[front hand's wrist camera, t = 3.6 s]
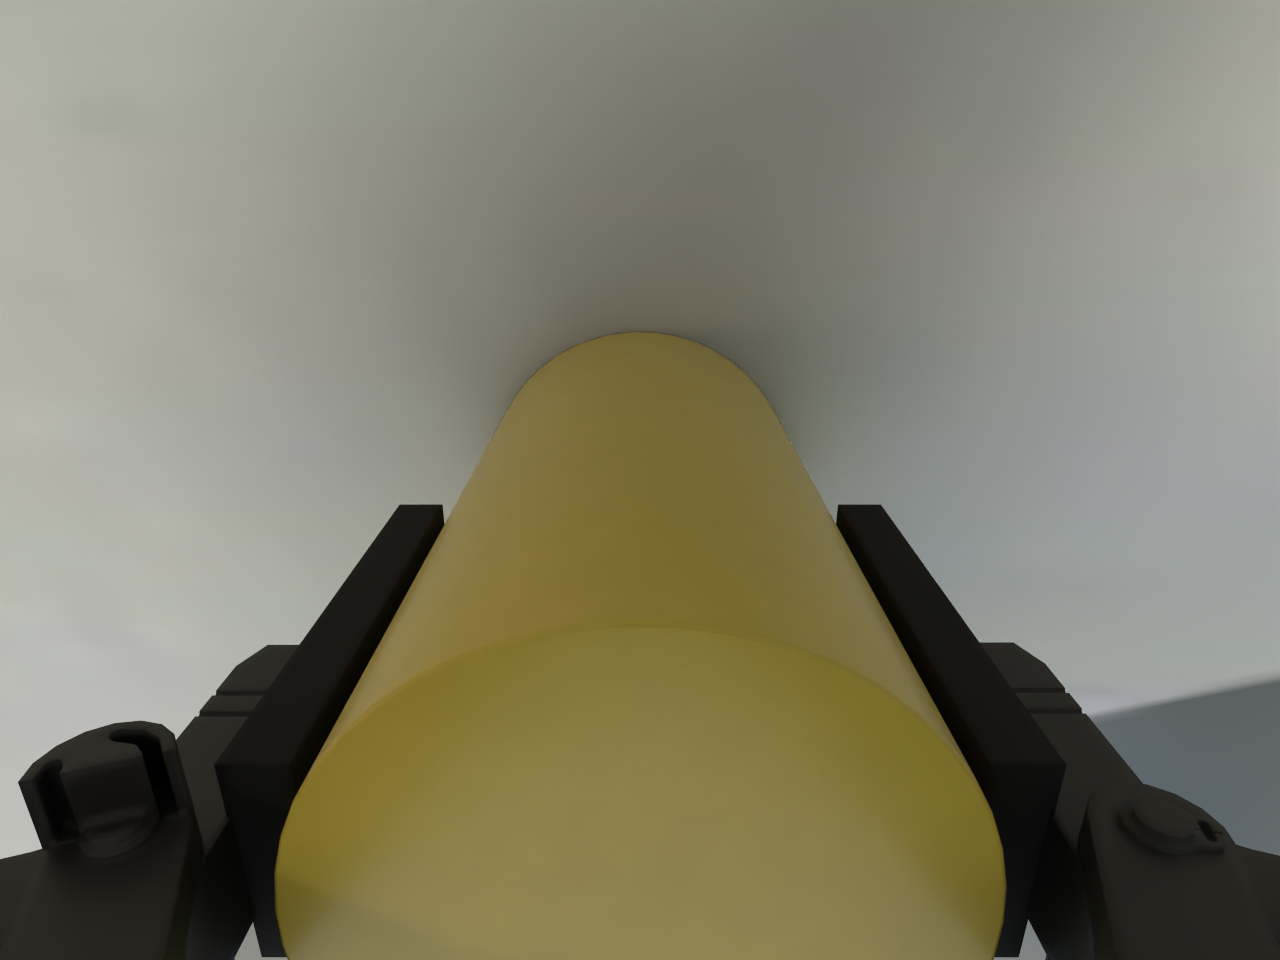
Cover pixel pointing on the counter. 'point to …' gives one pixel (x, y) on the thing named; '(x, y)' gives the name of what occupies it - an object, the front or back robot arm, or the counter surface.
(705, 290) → the counter surface
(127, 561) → the counter surface
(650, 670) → the tin
